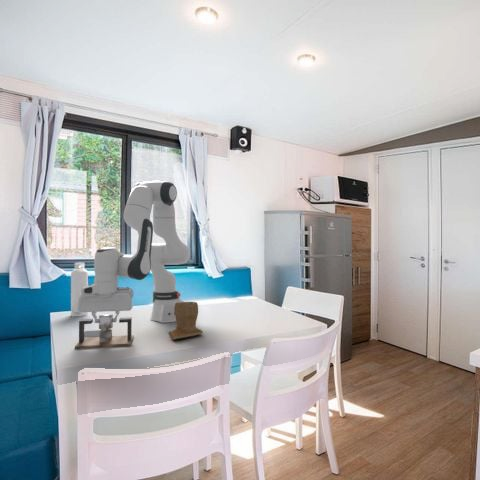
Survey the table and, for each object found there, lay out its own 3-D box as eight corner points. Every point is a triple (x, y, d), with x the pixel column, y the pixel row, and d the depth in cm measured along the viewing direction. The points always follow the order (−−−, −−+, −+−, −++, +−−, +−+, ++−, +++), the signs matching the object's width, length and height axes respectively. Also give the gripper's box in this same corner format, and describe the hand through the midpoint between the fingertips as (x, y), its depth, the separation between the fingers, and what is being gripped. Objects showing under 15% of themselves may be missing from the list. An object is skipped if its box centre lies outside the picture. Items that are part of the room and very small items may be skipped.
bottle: (76, 317, 171) (76, 263, 171) (67, 315, 175) (67, 262, 175) (90, 314, 178) (91, 262, 178) (81, 312, 182) (82, 261, 182)
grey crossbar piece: (110, 331, 126) (110, 318, 126) (95, 332, 125) (95, 319, 125) (115, 323, 138) (115, 311, 138) (101, 323, 137) (102, 311, 136)
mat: (107, 331, 147) (107, 330, 147) (103, 337, 138) (103, 336, 138) (85, 332, 145) (85, 330, 145) (80, 338, 136) (80, 337, 136)
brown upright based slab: (192, 330, 151) (192, 297, 151) (206, 336, 142) (206, 301, 141) (161, 335, 141) (162, 301, 141) (174, 343, 132) (175, 306, 132)
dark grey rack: (133, 337, 139) (133, 315, 139) (130, 346, 128) (130, 321, 128) (82, 339, 135) (82, 316, 135) (74, 349, 124) (74, 323, 124)
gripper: (134, 286, 136) (133, 319, 136) (81, 287, 132) (80, 321, 132) (132, 288, 130) (132, 323, 130) (76, 289, 126) (76, 325, 126)
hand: (105, 322), depth 131 cm, fingers closed on grey crossbar piece, 5 cm apart
